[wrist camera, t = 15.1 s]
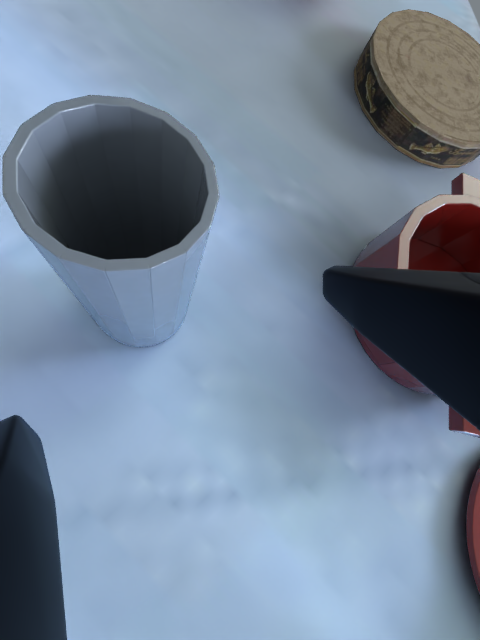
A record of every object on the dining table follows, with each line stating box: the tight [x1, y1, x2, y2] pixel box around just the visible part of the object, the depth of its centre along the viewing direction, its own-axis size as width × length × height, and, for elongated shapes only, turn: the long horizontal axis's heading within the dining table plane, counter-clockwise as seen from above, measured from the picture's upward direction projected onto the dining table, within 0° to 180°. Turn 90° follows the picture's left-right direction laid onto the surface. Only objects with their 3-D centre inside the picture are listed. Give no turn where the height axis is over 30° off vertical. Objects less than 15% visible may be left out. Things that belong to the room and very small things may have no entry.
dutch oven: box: [353, 173, 480, 438], centre depth 23 cm, size 14×19×6 cm
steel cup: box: [3, 95, 219, 347], centre depth 14 cm, size 6×6×12 cm
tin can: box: [354, 9, 480, 168], centre depth 31 cm, size 16×16×3 cm
